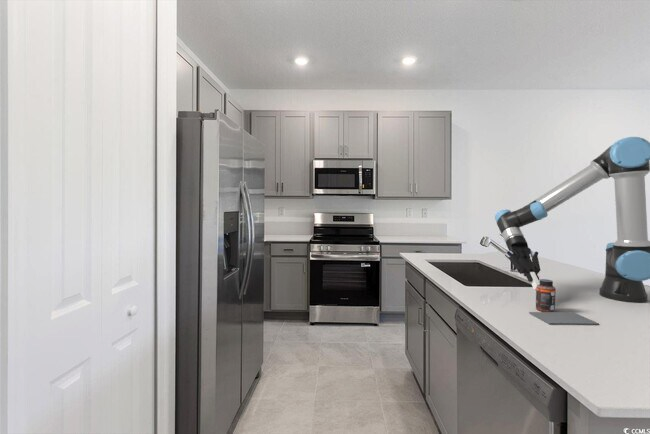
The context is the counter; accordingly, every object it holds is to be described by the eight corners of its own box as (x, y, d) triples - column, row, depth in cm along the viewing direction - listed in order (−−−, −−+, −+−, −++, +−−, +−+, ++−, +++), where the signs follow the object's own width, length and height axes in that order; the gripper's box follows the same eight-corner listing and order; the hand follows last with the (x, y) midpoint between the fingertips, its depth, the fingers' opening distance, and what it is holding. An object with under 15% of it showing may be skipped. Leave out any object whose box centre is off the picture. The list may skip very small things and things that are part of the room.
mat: (574, 313, 118) (574, 312, 118) (599, 325, 107) (599, 323, 107) (529, 313, 118) (529, 311, 118) (549, 324, 107) (549, 323, 107)
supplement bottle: (558, 313, 118) (559, 282, 118) (539, 312, 119) (540, 281, 119) (550, 308, 124) (551, 278, 123) (532, 307, 125) (533, 277, 125)
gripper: (526, 245, 144) (550, 293, 128) (496, 245, 145) (516, 293, 129) (534, 234, 139) (560, 283, 123) (502, 234, 139) (525, 283, 123)
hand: (537, 288), depth 126 cm, fingers closed
